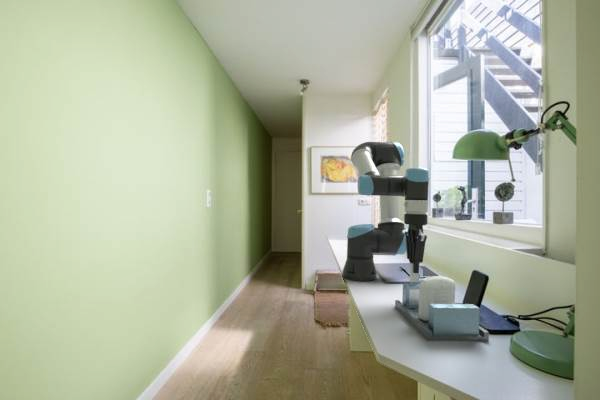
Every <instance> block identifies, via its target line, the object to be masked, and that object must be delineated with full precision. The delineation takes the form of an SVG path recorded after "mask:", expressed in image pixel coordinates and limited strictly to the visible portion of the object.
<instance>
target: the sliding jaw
mask: <svg viewBox="0 0 600 400" xmlns="http://www.w3.org/2000/svg"><path fill="white" fill-rule="evenodd" d="M419 287H420V283H413V282H409V283H407V282H406V283H402V299H401V300H402V302H401V303H402V304H403V305H404V306H405V307H406V308H419Z"/></svg>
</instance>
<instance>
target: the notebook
mask: <svg viewBox="0 0 600 400" xmlns="http://www.w3.org/2000/svg"><path fill="white" fill-rule="evenodd" d="M419 266H420V267H421V268H422V269H423V276H430V277H432V276H440V275H438V274H437V273H435V272H434V271H433V270H432V269H430V268H428V267H427V266H425V265H419ZM419 276H420V275H419Z"/></svg>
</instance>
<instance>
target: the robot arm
mask: <svg viewBox="0 0 600 400" xmlns="http://www.w3.org/2000/svg"><path fill="white" fill-rule="evenodd" d="M350 159H351V162H352V165H353V166H354V167H355V168H356V170H357V173H358V175H359V176H358V177H357V178H358V179H357V193H358V195H361V196H368V197H369V196H379V208H380V212H379V213H380V221H379V222H378V223H377V227H376V226H375V225H374V224H373V223H362V224H356V225H351V226H349V227H348V229H347V236H346V237H347V239H346V240H347V241H346V242H347V244H346V245H347V246H346V247H347V249H346V260H345V264H344V266H343V269H342V277H343V278H345V279H347V280H352V281H357V282H358V281H359V282H369V281H370V282H371V281H375V280H377V279H378V271H377V268H376V265H375V262H374V255H394V256H396V255H404V254H405V253H406V258H407V260H408V261H409V265H410V276H409V275H408V276H409V283H420V278H419V266H420V264H421V263H422V264H423V262H424V255H425V248H426V247H425V246H426V241H427V239H428V236H427V235H426V234H424V228H423V227H424V226H427V225H428V215H427V213H428V212H429V184H430V183H429V181H430V178H429V176H430V175H429V170H428V169H427V168H425V167H424V168H423V167H411V168H410V167H408V168H407V169H406V170H405V174H404V175H398V172H399V171H400V170H401V167H402V166H403V165H404V162H405V152H404V148H403V146H402V144H400V143H399V142H395V141H388V142H387V141H365V142H363V143H359V144H358V145H357V146H356V147H355V148H354V149H353V150H352V152H351V157H350ZM400 197H404V203H403V206H404V212H405V213H404V217H403V221H402V220H401V211H400V208H401V207H400ZM405 225H408V228H407V227H405Z"/></svg>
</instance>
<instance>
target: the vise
mask: <svg viewBox="0 0 600 400" xmlns="http://www.w3.org/2000/svg"><path fill="white" fill-rule="evenodd" d="M394 301H395V302H394V307H395V309H397V311H398V312H399V313H400V314H401V315H402V316H403V317H404V318H405V319H406V320H407V321H408V322H409V323H410V324H411V325H412V326H413V327H414V329H416V331H417V332H419V333H420V335H422V337H424V339H426V341H447V342H448V341H450V342H451V341H455V342H456V341H459V342H461V341H469V342H471V341H473V342H474V341H475V342H477V341H478V342H479V341H481V342H482V341H483V342H484V341H485V342H487V341H488V342H489V340H490V339H489V338H490V337H489V335H490V333H489V331H488V330H487V329H485V328H484V327H482V326H481V325H480V311H481V310H480V309H481V308H480V307H479V306H477V305H475V304H473V303H464V304H463V303H455V304H429V320H428V321H427V320H425V321H424V320H421V319H420V318H419V315H418V310H419V308H406V307H405V306H404V305H403V304H402V302H401V301H400V300H399V299H398V300H397V299H396V300H394Z"/></svg>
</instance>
